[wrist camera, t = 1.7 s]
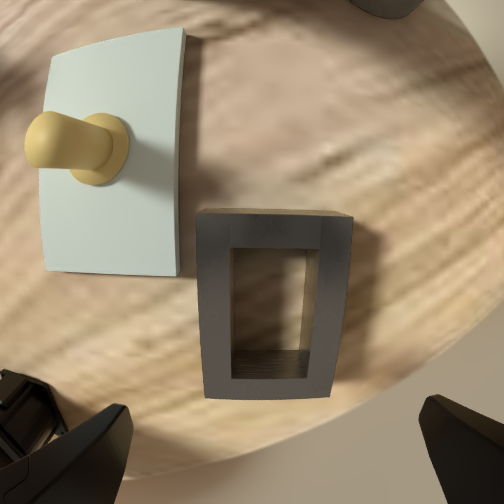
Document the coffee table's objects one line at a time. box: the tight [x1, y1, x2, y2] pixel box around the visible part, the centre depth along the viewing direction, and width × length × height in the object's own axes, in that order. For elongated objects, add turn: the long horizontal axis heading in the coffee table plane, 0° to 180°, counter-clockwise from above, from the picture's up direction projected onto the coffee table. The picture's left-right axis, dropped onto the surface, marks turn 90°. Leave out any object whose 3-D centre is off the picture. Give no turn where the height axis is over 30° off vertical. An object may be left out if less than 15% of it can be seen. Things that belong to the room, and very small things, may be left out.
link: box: [196, 208, 353, 400], centre depth 15 cm, size 10×7×3 cm
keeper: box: [24, 27, 186, 276], centre depth 12 cm, size 14×9×6 cm, turn 179°
